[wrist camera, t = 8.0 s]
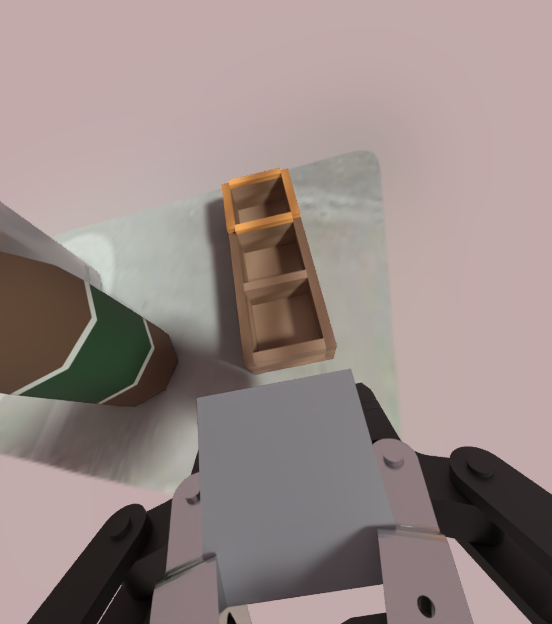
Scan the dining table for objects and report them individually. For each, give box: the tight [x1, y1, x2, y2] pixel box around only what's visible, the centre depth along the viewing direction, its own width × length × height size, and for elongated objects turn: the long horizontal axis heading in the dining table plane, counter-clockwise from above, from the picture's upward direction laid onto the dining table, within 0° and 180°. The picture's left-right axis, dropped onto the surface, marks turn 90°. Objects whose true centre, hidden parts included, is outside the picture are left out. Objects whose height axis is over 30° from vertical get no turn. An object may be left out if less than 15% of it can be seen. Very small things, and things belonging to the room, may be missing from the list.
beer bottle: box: [0, 251, 178, 406], centre depth 14 cm, size 8×8×24 cm
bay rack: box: [222, 168, 337, 374], centre depth 26 cm, size 7×21×4 cm, turn 10°
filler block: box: [197, 369, 396, 607], centre depth 10 cm, size 4×4×10 cm
